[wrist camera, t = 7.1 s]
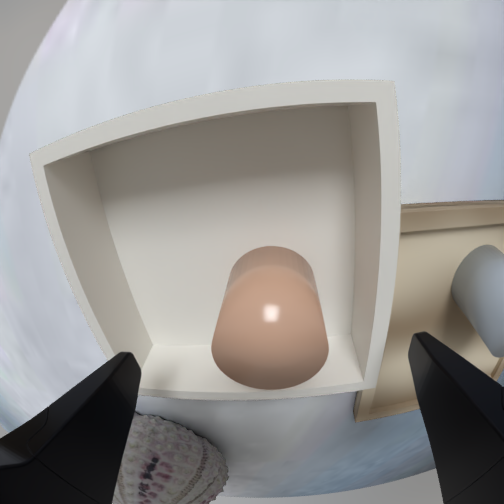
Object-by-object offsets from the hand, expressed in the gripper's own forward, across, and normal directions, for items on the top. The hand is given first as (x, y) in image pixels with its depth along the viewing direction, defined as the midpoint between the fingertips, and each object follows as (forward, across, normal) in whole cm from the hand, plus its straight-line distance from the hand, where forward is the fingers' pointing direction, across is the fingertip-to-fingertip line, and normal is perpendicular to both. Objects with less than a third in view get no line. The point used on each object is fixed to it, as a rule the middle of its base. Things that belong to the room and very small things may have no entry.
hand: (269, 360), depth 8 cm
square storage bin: (+5, +2, -2) cm, 5 cm away
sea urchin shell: (+5, +12, +16) cm, 21 cm away
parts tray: (+5, -10, +4) cm, 12 cm away
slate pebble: (+4, -10, +1) cm, 11 cm away
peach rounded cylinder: (+4, 0, 0) cm, 4 cm away
